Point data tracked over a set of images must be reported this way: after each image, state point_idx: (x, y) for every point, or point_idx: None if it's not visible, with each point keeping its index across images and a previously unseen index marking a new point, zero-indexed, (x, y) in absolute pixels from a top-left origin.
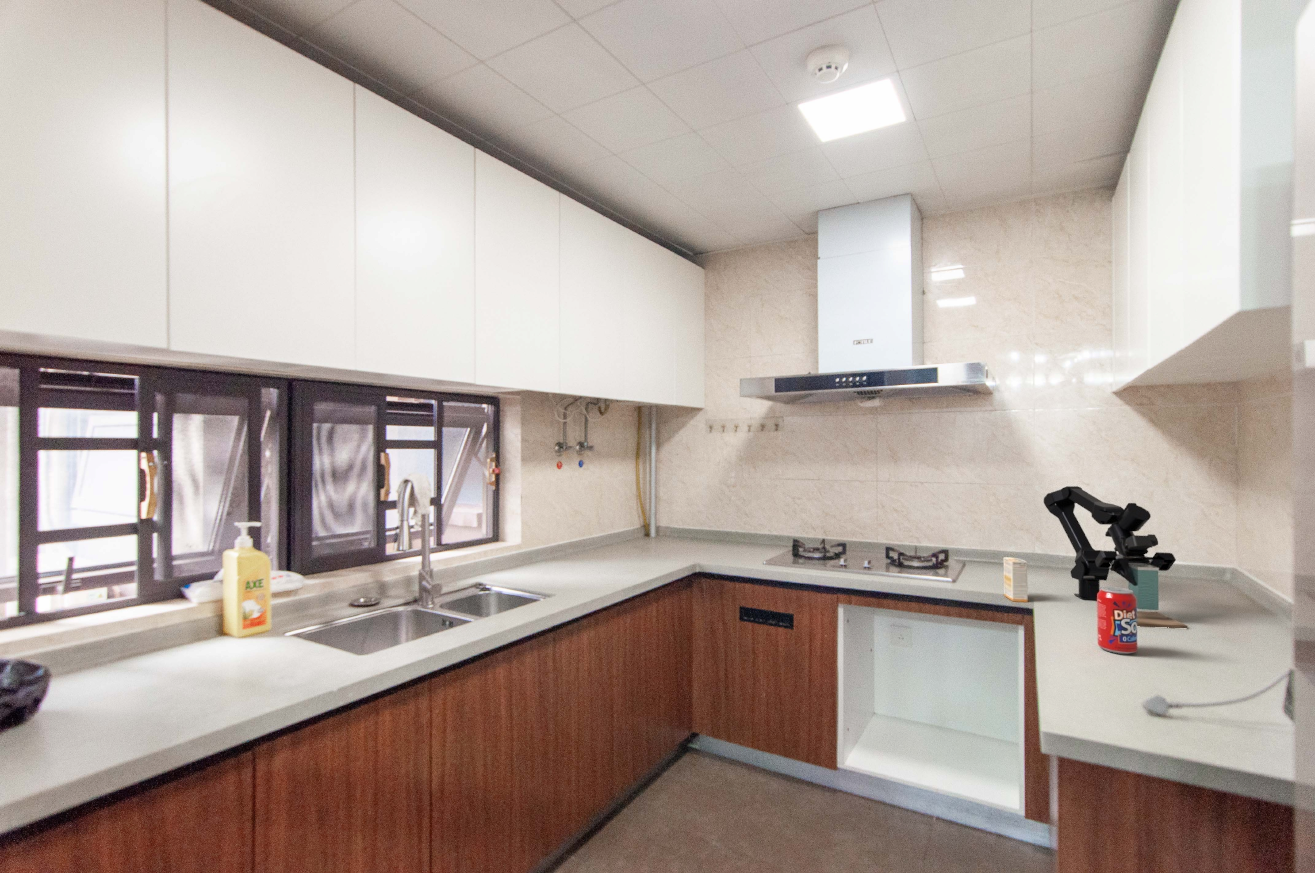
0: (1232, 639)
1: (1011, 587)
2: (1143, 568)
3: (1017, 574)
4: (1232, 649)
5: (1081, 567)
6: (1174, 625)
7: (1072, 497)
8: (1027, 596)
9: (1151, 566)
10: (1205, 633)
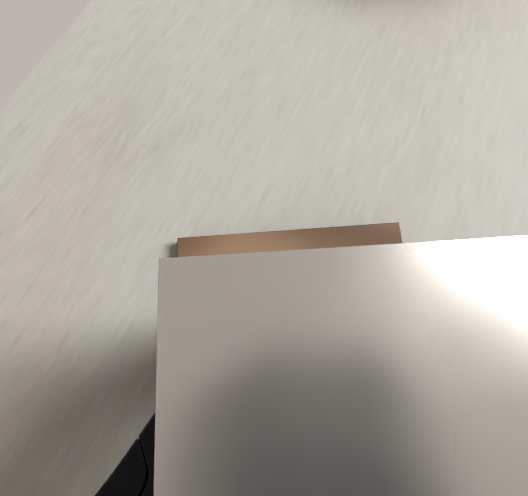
0: (106, 137)
1: None
2: (450, 245)
3: None
4: (181, 28)
5: None
6: (226, 236)
7: None
8: None
9: (246, 391)
10: (151, 191)
